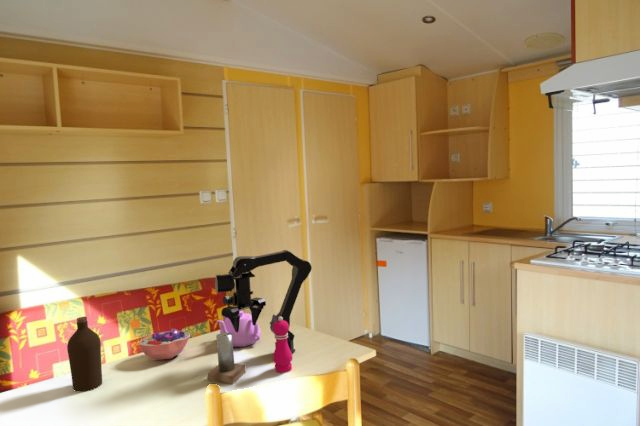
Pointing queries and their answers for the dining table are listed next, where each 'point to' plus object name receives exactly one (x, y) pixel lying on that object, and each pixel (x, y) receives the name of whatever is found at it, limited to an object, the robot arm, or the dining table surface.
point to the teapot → (241, 330)
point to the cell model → (164, 344)
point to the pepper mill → (282, 347)
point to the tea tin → (225, 352)
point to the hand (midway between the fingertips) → (245, 328)
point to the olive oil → (85, 357)
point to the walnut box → (226, 374)
